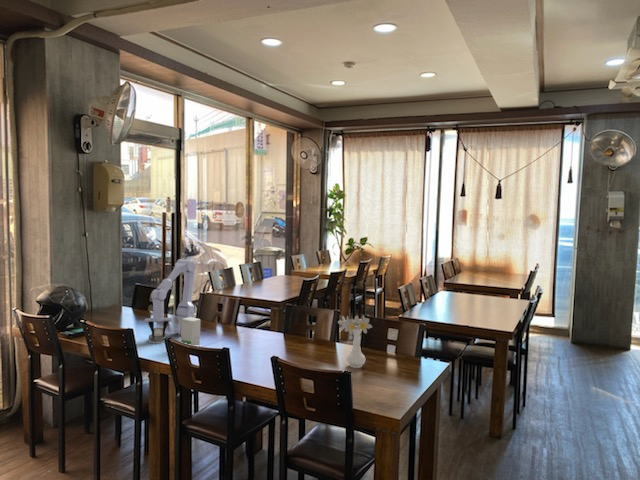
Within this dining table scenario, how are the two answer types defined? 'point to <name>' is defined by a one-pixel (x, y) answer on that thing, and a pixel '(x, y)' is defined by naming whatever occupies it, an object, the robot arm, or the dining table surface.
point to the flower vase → (355, 339)
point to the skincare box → (190, 331)
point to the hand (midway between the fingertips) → (158, 334)
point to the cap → (158, 332)
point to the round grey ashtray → (157, 339)
